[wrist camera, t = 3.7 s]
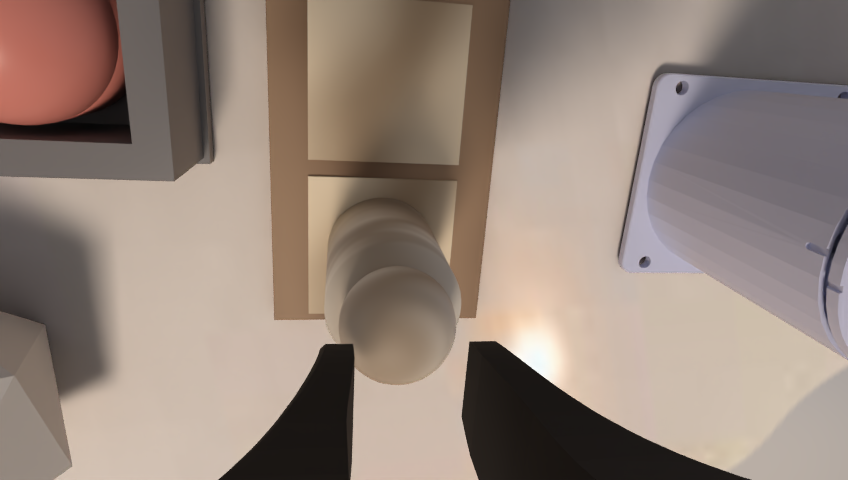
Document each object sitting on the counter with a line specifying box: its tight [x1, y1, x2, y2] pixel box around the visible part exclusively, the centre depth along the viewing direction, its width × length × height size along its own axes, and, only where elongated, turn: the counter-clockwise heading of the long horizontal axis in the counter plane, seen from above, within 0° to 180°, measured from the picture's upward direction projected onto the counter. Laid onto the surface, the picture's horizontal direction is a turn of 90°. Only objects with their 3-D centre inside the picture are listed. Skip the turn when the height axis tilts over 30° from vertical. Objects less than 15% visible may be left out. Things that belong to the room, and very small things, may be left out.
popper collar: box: [0, 0, 214, 181], centre depth 15 cm, size 8×8×4 cm
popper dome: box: [0, 0, 126, 125], centre depth 14 cm, size 5×5×5 cm
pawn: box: [324, 198, 461, 385], centre depth 17 cm, size 4×4×8 cm
